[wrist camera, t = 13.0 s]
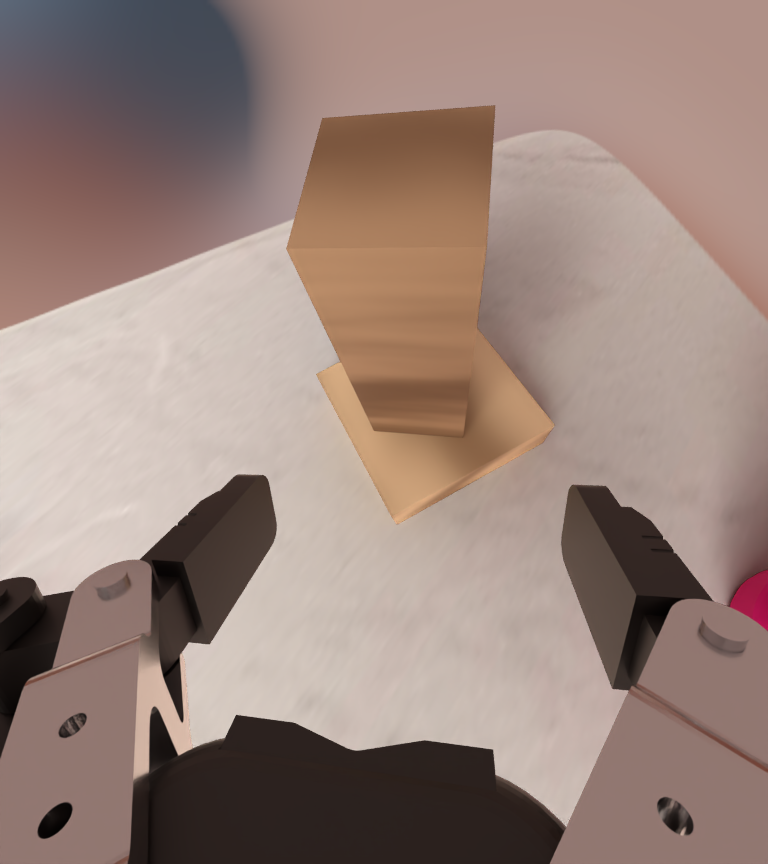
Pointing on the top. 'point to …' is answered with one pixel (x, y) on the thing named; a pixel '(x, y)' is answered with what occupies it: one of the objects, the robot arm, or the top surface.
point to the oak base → (437, 455)
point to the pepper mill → (753, 598)
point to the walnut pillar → (400, 257)
